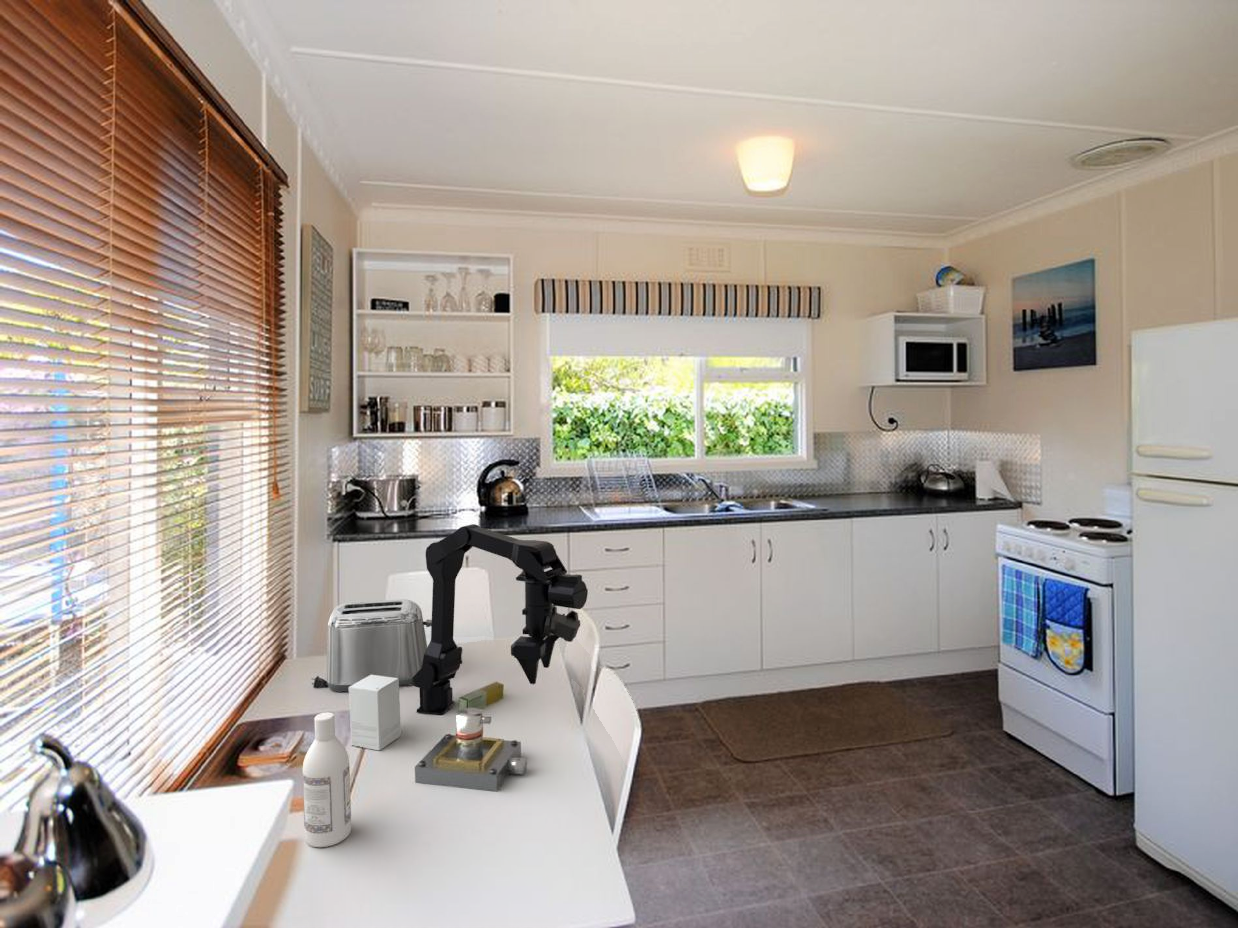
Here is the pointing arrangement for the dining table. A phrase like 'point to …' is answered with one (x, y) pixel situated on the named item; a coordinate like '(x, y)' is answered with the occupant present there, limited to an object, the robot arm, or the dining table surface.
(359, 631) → the toaster
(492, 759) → the grey fixture base
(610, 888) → the dining table surface
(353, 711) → the supplement box
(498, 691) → the medication box
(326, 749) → the bath foam
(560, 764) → the dining table surface
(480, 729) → the spout can
